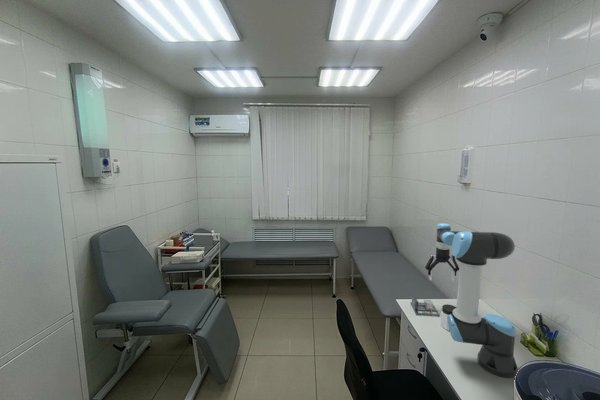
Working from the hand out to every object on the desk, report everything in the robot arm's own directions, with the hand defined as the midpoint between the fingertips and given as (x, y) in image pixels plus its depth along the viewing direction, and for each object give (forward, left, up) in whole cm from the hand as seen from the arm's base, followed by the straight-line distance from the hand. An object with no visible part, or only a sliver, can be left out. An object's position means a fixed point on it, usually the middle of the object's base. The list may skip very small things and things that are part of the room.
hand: (441, 280), depth 170 cm
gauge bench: (0, +10, -21) cm, 23 cm away
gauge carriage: (-2, +7, -19) cm, 20 cm away
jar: (-18, +1, -21) cm, 28 cm away
